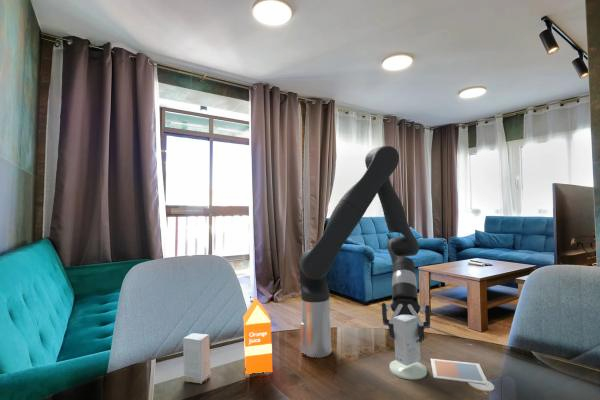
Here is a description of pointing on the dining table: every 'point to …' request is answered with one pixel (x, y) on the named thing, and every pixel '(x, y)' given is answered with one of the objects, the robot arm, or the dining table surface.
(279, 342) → the dining table surface
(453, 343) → the dining table surface
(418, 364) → the coaster
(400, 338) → the skincare box
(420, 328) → the robot arm
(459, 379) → the blue and orange card
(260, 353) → the orange juice
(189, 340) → the skincare box
